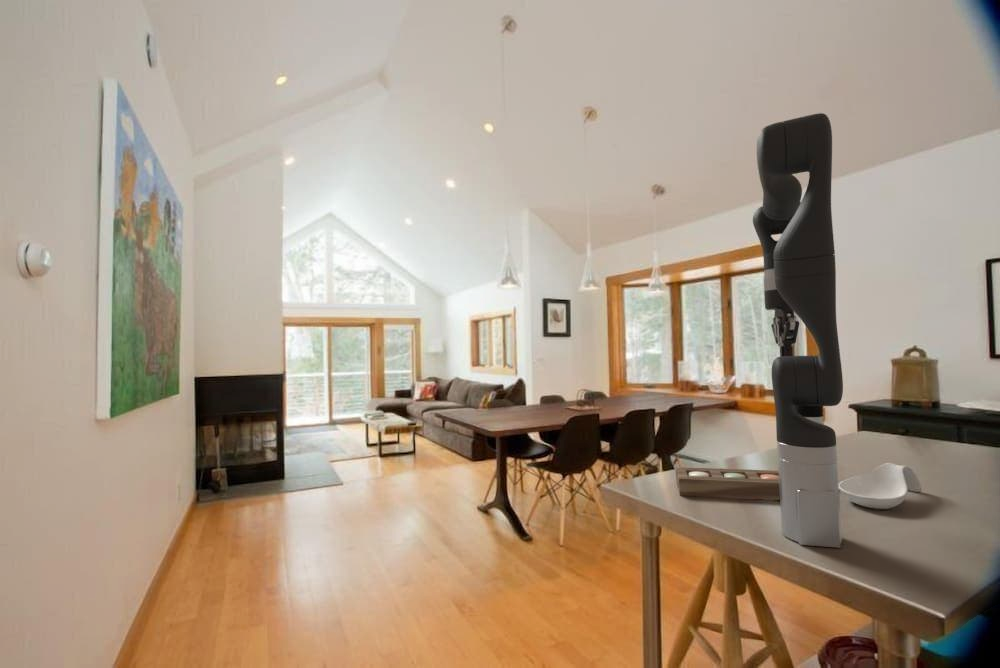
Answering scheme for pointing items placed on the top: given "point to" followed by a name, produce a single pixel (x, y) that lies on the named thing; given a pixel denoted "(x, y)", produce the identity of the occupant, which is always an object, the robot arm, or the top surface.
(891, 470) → the spoon rest
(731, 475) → the sage button
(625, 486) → the top surface
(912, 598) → the top surface
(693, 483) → the button panel
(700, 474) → the cream button
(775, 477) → the terracotta button
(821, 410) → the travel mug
